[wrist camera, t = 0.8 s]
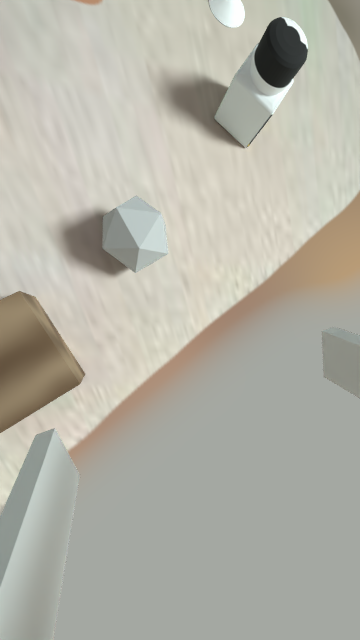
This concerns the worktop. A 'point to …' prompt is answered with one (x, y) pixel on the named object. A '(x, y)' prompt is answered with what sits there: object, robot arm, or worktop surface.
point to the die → (135, 234)
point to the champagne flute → (228, 11)
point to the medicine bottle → (263, 80)
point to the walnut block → (31, 360)
